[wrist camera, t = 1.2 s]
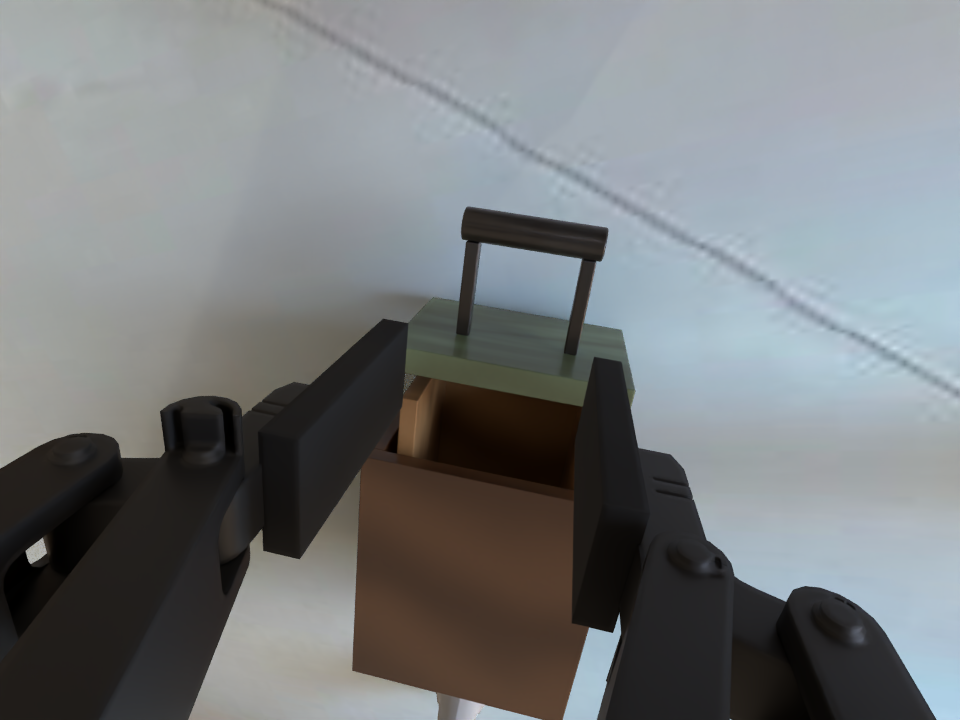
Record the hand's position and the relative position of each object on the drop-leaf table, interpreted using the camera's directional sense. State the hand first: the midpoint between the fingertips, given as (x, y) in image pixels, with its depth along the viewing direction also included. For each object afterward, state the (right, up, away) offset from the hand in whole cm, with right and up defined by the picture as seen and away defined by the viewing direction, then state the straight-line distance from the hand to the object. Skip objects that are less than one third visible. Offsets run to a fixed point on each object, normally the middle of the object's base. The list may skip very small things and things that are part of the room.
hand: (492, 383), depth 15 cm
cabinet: (+1, -8, +19) cm, 21 cm away
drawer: (+2, 0, +15) cm, 15 cm away
